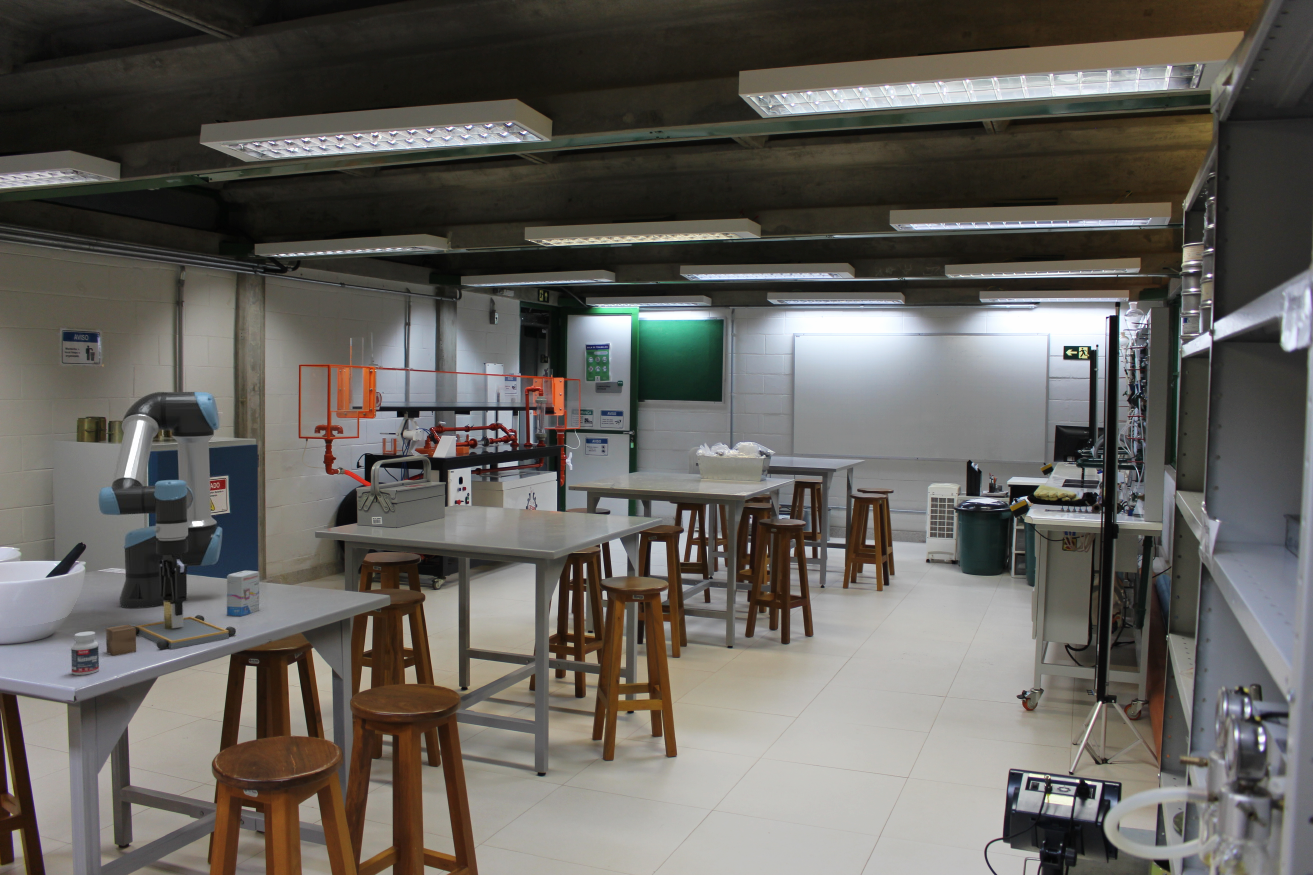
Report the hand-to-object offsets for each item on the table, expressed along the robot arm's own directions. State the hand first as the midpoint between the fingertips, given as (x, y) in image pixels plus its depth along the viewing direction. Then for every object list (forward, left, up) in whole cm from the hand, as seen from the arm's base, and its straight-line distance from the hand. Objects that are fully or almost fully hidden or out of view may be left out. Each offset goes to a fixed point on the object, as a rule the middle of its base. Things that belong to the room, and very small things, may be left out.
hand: (173, 625), depth 243 cm
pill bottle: (+22, -27, -2) cm, 35 cm away
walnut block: (+10, -16, -2) cm, 19 cm away
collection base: (+5, 0, -2) cm, 5 cm away
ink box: (-9, +23, -2) cm, 24 cm away
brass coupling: (0, 0, 0) cm, 0 cm away
